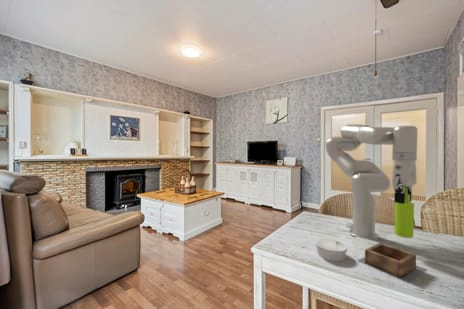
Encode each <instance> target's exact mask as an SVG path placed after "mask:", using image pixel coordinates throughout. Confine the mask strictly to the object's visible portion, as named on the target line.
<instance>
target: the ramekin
mask: <svg viewBox="0 0 464 309" xmlns="http://www.w3.org/2000/svg"><path fill="white" fill-rule="evenodd" d="M315 246H316V249H317V250H316V251H317V255H318V256H319V257H321V258H322V259H325V260H327V261H331V262H341V261H344V260H345V257H346V253H347V251H348V248H347V246H346V244H344V243H342V242H340V241H338V240H334V239H329V238H328V239H327V238H324V239H323V238H322V239H321V238H320V239H318V240H316V242H315Z"/></svg>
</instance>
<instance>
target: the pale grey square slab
mask: <svg viewBox="0 0 464 309" xmlns="http://www.w3.org/2000/svg"><path fill="white" fill-rule="evenodd" d="M357 262H360V263H362V264H363V265H366V266H368V267H370V268H373V269H376V270H377V271H379V272H382V273H384V274H387V275H389V276H390V277H391V276H392V277H394V278H396V279H398V280H400V281H403V282H405V283H407V284H410V283H412V282H413V281H414V280H416V279H417V278H419V277H420V276H421V275H422V274H424V273H426V271H428V269H427V268H425V267H421V266H418V265H416V269H415V270H413V271H412V272H411V273H409V274H408V275H406V276H405V277H403V278H402V279H401V278H399V277H397V276H394V275H392V274H390V273H387V272H385V271H383V270H380V269H378V268H376V267H373V266H371V265H369V264H366V263H365V256H364V257H362V258H360V259H358V260H357Z"/></svg>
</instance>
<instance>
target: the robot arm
mask: <svg viewBox="0 0 464 309" xmlns="http://www.w3.org/2000/svg"><path fill="white" fill-rule="evenodd" d="M340 135H341V136H333V137H330V138H328V139H327V140H326V141H325V149H326V154H327V155H328V156H329V158H330V159H331V160H332V161H333V162H334V163H335V164H336V165H337V166H338V167H339V169H340V170H341V171H342V172H343V174H344V175H346V177H348V178H351V179H350V186H351V191H352V223H351V222H346V223H345V227H346V228H349V231H348V233H349V235H350V236H351V237H353V238H357V237H358V238H361V239H366V240H367V239H368V240H375V241H376V240H379V235H378V233H376V232H375V231H376V201H375V198H374V196H373V195H372V193H381V192H386V191H388V190H389V189H390V187H391V183H392V187H393V186H394V187H393V188H394V189H393V190H394V191H393V192H394V200H393V201H394V203H395V202H396V203H401V204H404V203H405V194H404V188H405V186H406V187H408V186H410V188H408V190H407V193H408V194H410V202H411V203H412V196H413V195H412V194H413V193H412V192H413V186H415V185H417V182H418V180H417V165H416V164H417V163H416V162H417V157H418V153H417V152H418V128H417V126H416V125H415V126H414V125H399V126H395V127H390V126H389V127H388V126H387V127H386V126H385V127H383V126H380V127H379V126H375V127H374V126H370V125H368V124H357V123H356V124H354V123H351V124H345V125H344V126H342V127H341V129H340ZM363 144H368V145H375V146H376V145H378V146H379V145H385V146H386V145H388V146H389V145H391V146H392V161H393V165H392V173H391V174H392V176H391V177H392V179H391V181H392V182H391V181H390V178H389V177H388V176H387V174H386V173H385V172H383V171H382V170H381V169H380V168H379V167H378V166H377V165H376V164H375V163H374V162H372V161H370V160H363V159H362V160H358V159H354V157H352V156H351V154H349V153H348V152H352V151H355V150H357V149H358V148H359V147H360V146H361V145H363Z"/></svg>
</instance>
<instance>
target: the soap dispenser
mask: <svg viewBox="0 0 464 309" xmlns="http://www.w3.org/2000/svg"><path fill="white" fill-rule="evenodd" d="M392 187H393V188H394V186H393V185H392ZM408 188H410V186H408V187H406V186H405V188H404V194H405V203H404V204H401V203H396V202H394V234H395V236H398V237H401V238H405V239H411V238H414V223H415V222H414V217H415V215H414V214H415V204H414V203H413V202H412V201H411V202H410V194H408V193H407V190H408Z"/></svg>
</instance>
